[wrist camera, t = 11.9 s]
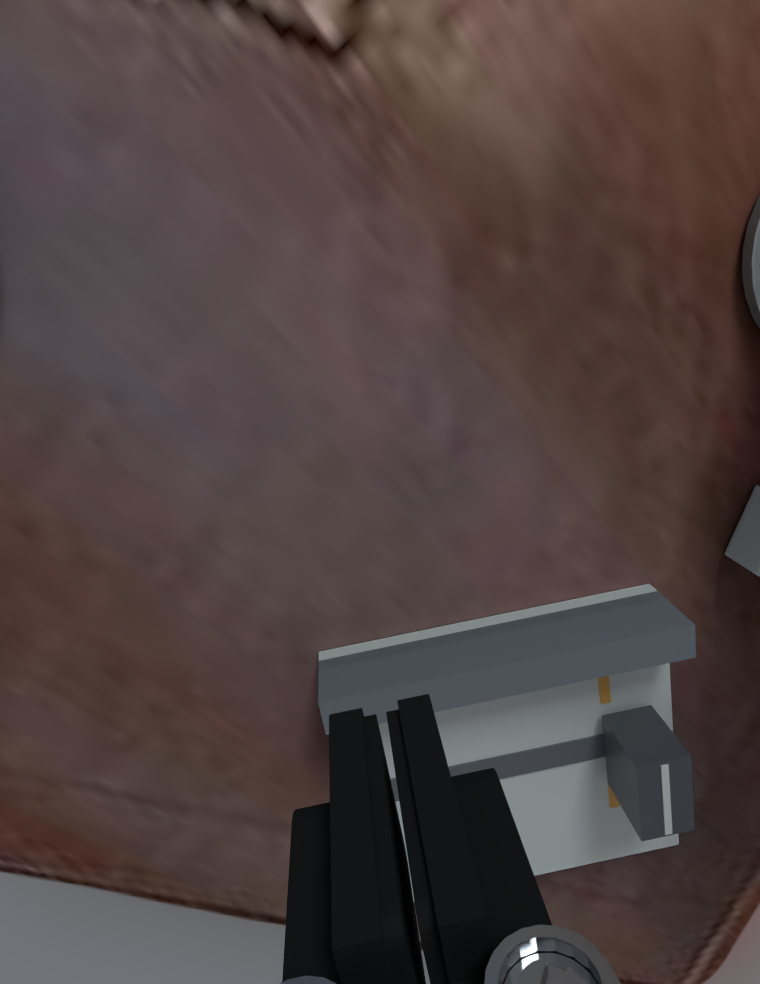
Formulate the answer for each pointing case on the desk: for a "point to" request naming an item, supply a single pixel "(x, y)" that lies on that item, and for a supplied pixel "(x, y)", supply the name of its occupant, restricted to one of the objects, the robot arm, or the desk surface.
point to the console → (529, 707)
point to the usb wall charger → (747, 536)
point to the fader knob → (649, 772)
